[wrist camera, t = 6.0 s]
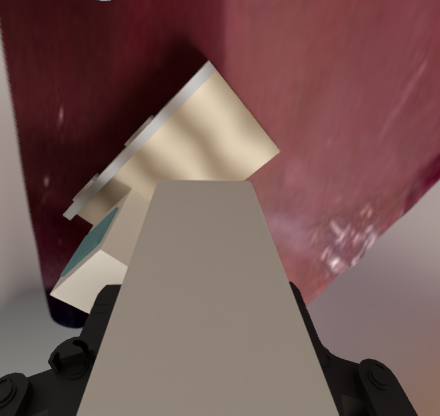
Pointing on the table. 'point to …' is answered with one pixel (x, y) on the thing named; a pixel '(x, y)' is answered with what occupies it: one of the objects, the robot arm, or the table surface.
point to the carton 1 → (103, 253)
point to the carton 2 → (206, 317)
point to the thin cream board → (182, 146)
